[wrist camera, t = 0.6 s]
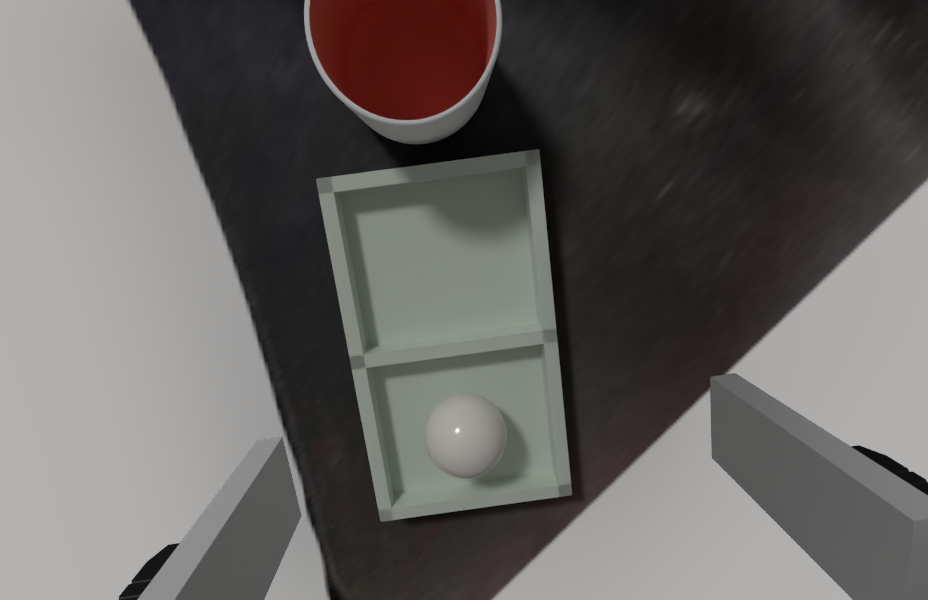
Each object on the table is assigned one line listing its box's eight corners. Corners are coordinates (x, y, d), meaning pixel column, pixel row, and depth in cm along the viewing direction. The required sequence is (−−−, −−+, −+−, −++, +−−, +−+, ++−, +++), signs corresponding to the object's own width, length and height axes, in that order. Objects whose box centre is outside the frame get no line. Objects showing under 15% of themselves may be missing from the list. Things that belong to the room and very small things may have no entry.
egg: (420, 386, 38) (415, 421, 32) (497, 376, 38) (506, 408, 32) (431, 456, 39) (429, 502, 33) (506, 446, 39) (516, 490, 33)
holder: (327, 180, 36) (315, 178, 32) (531, 153, 36) (539, 149, 33) (385, 496, 41) (380, 521, 38) (562, 472, 41) (572, 495, 38)
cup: (482, -11, 33) (497, -98, 24) (490, 141, 35) (507, 119, 26) (336, -2, 33) (290, -86, 23) (353, 150, 35) (316, 132, 25)
